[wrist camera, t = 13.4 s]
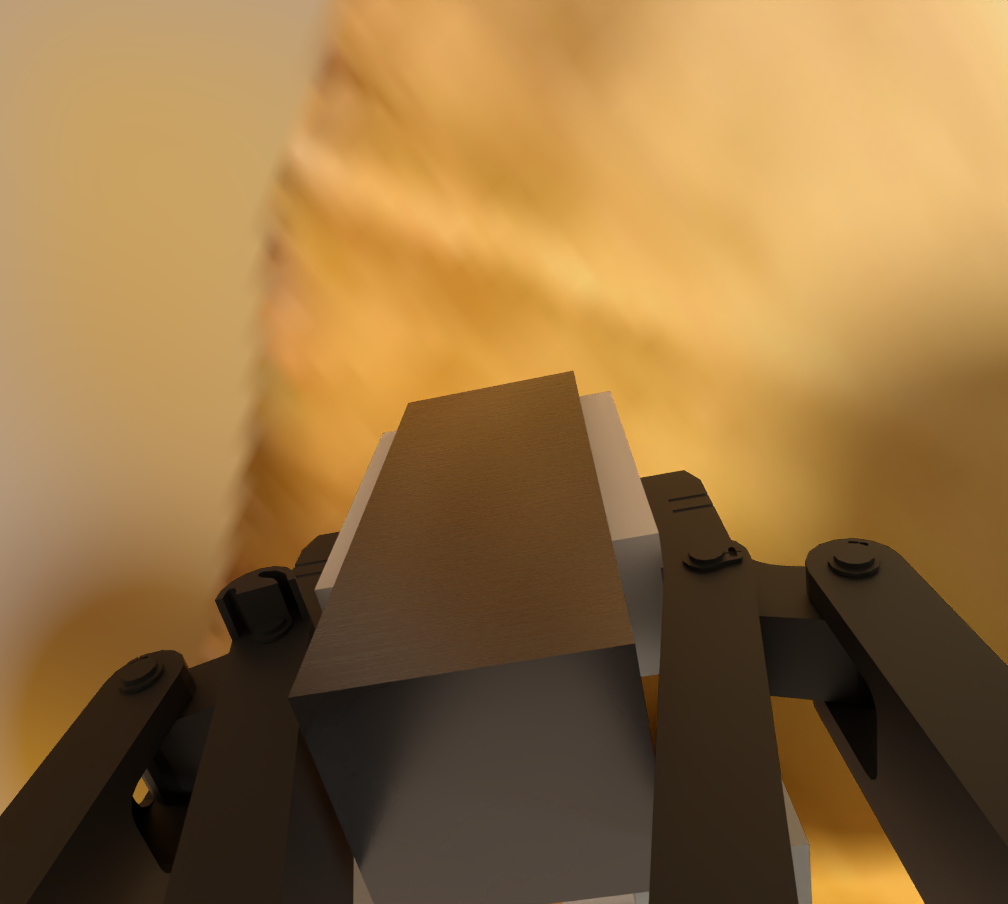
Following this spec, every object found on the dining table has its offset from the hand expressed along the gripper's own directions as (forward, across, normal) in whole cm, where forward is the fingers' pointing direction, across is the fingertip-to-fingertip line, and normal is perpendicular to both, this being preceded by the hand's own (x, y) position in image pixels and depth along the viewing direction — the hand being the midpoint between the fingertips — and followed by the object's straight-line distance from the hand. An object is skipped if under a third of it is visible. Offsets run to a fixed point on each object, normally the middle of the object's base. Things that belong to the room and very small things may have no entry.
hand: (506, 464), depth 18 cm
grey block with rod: (0, +2, +7) cm, 7 cm away
